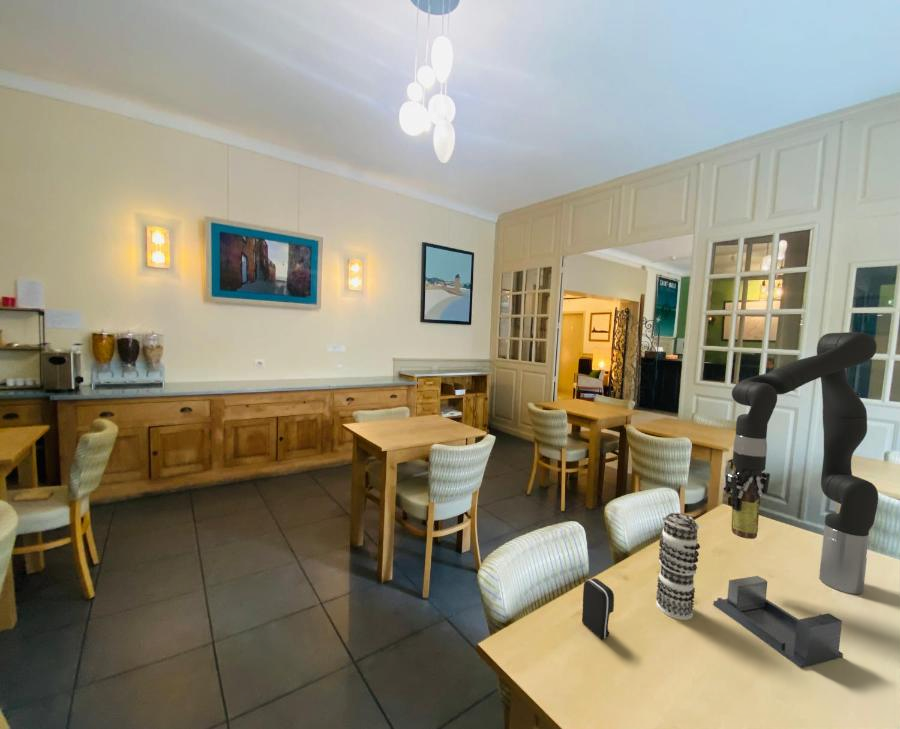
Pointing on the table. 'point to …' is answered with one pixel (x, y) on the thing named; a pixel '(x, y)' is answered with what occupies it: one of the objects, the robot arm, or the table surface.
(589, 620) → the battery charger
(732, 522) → the sauce bottle
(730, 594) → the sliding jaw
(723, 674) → the table surface
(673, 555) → the decorative candle
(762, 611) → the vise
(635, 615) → the table surface
